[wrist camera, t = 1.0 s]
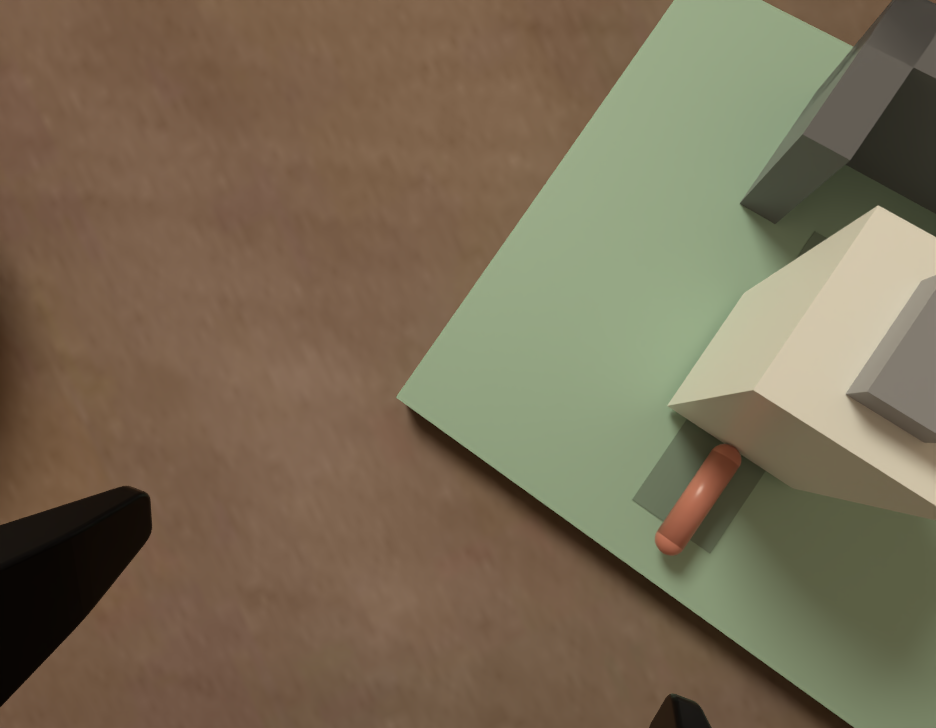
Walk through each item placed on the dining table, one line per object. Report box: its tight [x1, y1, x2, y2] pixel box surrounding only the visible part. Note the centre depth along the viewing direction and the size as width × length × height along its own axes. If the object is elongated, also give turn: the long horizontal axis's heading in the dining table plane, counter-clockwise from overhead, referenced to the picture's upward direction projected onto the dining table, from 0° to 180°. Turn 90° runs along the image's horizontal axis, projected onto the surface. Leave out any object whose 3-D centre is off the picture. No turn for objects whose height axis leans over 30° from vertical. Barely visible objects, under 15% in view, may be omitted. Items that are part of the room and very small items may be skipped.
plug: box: [655, 206, 936, 556], centre depth 15 cm, size 9×5×9 cm, turn 145°
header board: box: [396, 0, 936, 728], centre depth 21 cm, size 21×22×2 cm
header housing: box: [740, 0, 936, 224], centre depth 18 cm, size 5×9×5 cm, turn 55°
